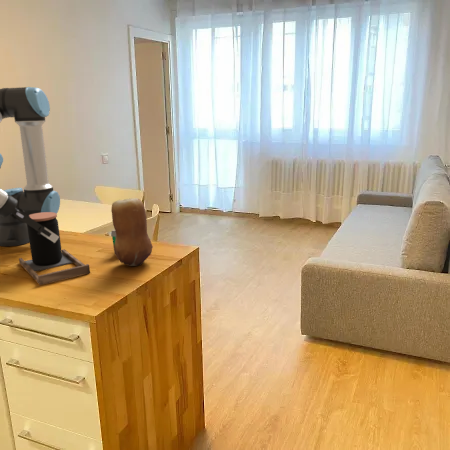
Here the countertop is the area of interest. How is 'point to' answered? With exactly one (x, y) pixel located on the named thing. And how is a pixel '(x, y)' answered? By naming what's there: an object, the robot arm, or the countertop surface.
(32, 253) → the coffee jar
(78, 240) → the countertop surface
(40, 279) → the bay
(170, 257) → the countertop surface
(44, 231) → the robot arm
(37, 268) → the front mat
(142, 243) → the butternut squash
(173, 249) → the countertop surface
